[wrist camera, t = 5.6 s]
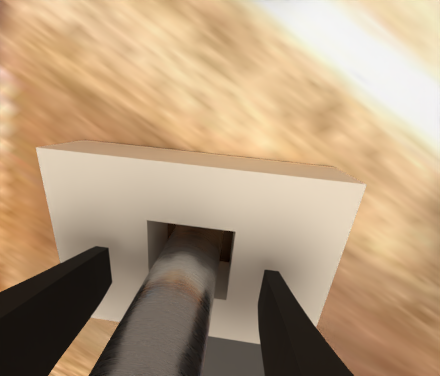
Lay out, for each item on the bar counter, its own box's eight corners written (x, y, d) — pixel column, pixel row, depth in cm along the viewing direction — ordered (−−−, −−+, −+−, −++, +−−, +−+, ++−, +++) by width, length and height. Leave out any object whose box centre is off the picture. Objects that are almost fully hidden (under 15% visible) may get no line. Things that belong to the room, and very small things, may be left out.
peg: (225, 213, 12) (192, 421, 4) (221, 254, 13) (187, 487, 5) (177, 207, 13) (49, 394, 4) (176, 248, 14) (73, 463, 5)
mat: (291, 315, 15) (292, 321, 14) (271, 384, 17) (272, 389, 17) (155, 295, 15) (153, 300, 15) (156, 364, 18) (155, 369, 18)
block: (334, 166, 11) (366, 184, 8) (294, 305, 14) (307, 351, 12) (84, 139, 12) (35, 147, 9) (102, 277, 15) (71, 314, 12)
